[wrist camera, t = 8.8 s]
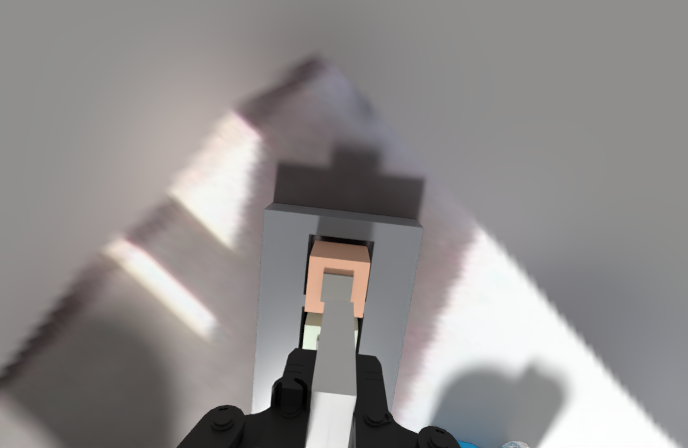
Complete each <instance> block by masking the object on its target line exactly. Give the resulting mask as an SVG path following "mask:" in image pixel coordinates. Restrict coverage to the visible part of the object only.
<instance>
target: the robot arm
mask: <svg viewBox="0 0 688 448" xmlns="http://www.w3.org/2000/svg"><path fill="white" fill-rule="evenodd" d="M177 448H461V447H460V445H459V443H458V442H457V440H456V439H455V438H454V437H453V436H452V435H451V434H450V433H448V432H447V431H446V430H444V429H441V428H439V427H434V426H428V427H425V428H422V429H421V431H420V432H419V434H418V433H415V432H413V431H410V430H408V429H406V428H404V427H402V426H400V425H399V424H398V423H396V422H395V421H394V419H393V416H392V414H391V413H390V412H389V410H388V405H387V398H386V391H385V385H384V378H383V371H382V365H381V363H380V361H379V360H378V359H377V357H376V356H372V355H363V354H355V328H354V302H345V301H337V300H328V299H325V304H324V310H323V317H322V323H321V330H320V336H319V343H318V349H317V350H311V349H302V348H295V349H294V350H293V351H292V352H291V353H290V354H289V355H288V358H287V361H286V365H285V368H284V372H283V375H282V377H280V378H279V379H278V380H276V381H275V382H274V384H273V385H272V390H271V403H270V407H269V408H267V409H266V410H264V411H262V412H259V413H255V414H250V415H244V413H243V412H242V410H241V409H239V408H238V407H236V406H231V405H224V406H218V407H216V408H214V409H212V410H210V411H209V412H208V413H207V414H205V415H204V416H203V418H202V419H201V420H200V421H199V422H198V423H197V424H196V426H195V427H194V428H193V429H192V430H191V431H190V433H189V434H188V435H187V436H186V437H185V438H184V439H183V441H182V442H181V443H180V444H179V445H178V446H177Z"/></svg>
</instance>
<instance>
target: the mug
mask: <svg viewBox="0 0 688 448" xmlns="http://www.w3.org/2000/svg"><path fill="white" fill-rule="evenodd" d="M457 442H458V443H459V445H460V447H461V448H478V447H476V446H475V445H473V444H471V443H466V442H461V441H457Z"/></svg>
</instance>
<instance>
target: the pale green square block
mask: <svg viewBox="0 0 688 448" xmlns="http://www.w3.org/2000/svg"><path fill="white" fill-rule="evenodd" d="M322 317H323V313H314V312H308V314H307V318H306V322H305V329H304V339H303V349H311V350H317V349H318V343H319V336H320V330H321V323H322ZM354 328H355V350H356V343H357V335H358V320H357V317H354Z"/></svg>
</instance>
